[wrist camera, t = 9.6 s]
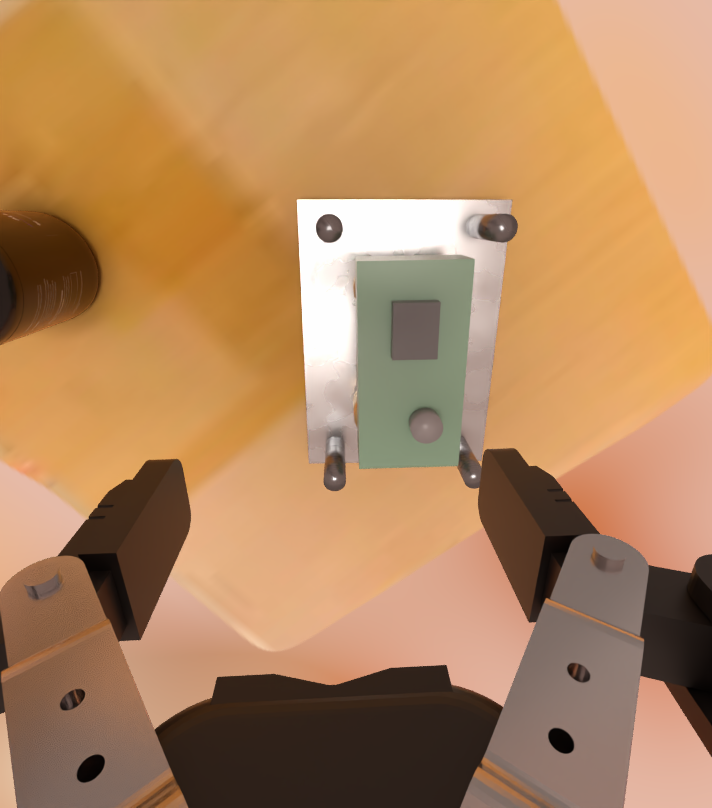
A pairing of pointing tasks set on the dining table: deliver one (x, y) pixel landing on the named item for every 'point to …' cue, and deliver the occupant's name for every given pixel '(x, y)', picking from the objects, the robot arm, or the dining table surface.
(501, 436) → the dining table surface
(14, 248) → the supplement bottle
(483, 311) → the chassis
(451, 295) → the board
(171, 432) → the dining table surface
